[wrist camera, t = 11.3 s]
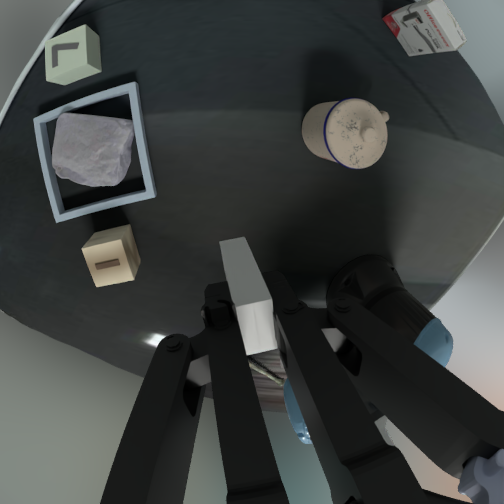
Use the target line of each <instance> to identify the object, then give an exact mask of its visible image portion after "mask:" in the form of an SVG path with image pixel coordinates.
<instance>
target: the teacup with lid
mask: <svg viewBox="0 0 504 504" xmlns="http://www.w3.org/2000/svg"><path fill="white" fill-rule="evenodd" d="M388 120H389V115H388V113H387V112H385V111H379V110H378V109H377V108H376V107H375V106H374V105H372V104H371V103H369V102H368V101H366V100H363V99H360V98H346V99H343V100H341V101H334V102H326V103H320V104H317V105H315V106H314V107H312V108H311V109H310V110H309V111H308V112H307V114H306V115H305V117H304V119H303V123H302V136H303V140H304V142H305V144H306V146H307V147H308V149H309V150H310V151H311V152H312V153H314V154H315V155H317V156H318V157H321V158H324V159H327V160H331V161H334V162H337V163H339V164H341V165H342V166H344V167H347V168H350V169H363V168H366V167H369V166H371V165H372V164H374V163H375V162H376V161H377V160H378V159H379V158H380V157H381V156H382V154H383V152H384V150H385V147H386V144H387V127H386V123H385V122H387V121H388Z"/></svg>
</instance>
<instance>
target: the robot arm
mask: <svg viewBox="0 0 504 504" xmlns="http://www.w3.org/2000/svg"><path fill="white" fill-rule="evenodd" d="M220 248H221V253H222V258H223V263H224V269H225V274H226V279H227V281H225V282H220V283H214V284H209V285H208V286H207V287H206V289H205V291H204V292H205V304H204V305H203V306H202V309H201V313H202V316H203V320H204V323H205V329H204V330H203V331H202V332H201V333H199V334H198V335H196V336H194V337H191V338H188V337H187V336H185V335H183V334H172V335H169V336H167V337H165V338H164V339H162V340H161V341H160V343H159V344H158V346H157V349H156V351H155V354H154V356H153V358H152V361H151V363H150V366H149V368H148V371H147V373H146V376H145V378H144V381H143V383H142V386H141V388H140V391H139V394H138V396H137V398H136V401H135V404H134V406H133V409H132V412H131V414H130V417H129V420H128V422H127V425H126V428H125V430H124V433H123V436H122V439H121V442H120V444H119V447H118V450H117V453H116V456H115V459H114V462H113V465H112V468H111V471H110V474H109V477H108V480H107V483H106V486H105V489H104V492H103V496H102V499H101V502H100V504H183V500H184V495H185V489H186V484H187V479H188V473H189V467H190V463H191V458H192V453H193V448H194V442H195V437H196V432H197V428H198V423H199V418H200V412H201V407H202V403H203V398H204V393H205V388H206V383H209V382H211V383H212V391H213V399H214V407H215V414H216V421H217V427H218V435H219V442H220V448H221V454H222V460H223V466H224V472H225V478H226V484H227V490H228V493H227V497H226V501H227V504H289V500H288V497H287V494H286V491H285V488H284V486H283V483H282V481H281V477H280V474H279V471H278V467H277V464H276V460H275V457H274V453H273V450H272V446H271V443H270V440H269V436H268V433H267V429H266V425H265V422H264V418H263V414H262V411H261V407H260V403H259V400H258V396H257V392H256V388H255V385H254V381H253V377H252V373H251V369H250V366H249V362H248V358H247V355H250V354H255V353H260V352H264V351H268V350H273V349H277V344H278V346H279V350H280V361H281V368H283V367H284V369H285V371H286V374H287V377H288V378H287V379H286V381H285V384H284V400H285V405H286V409H287V412H288V415H289V418H290V421H291V424H292V426H293V428H294V430H295V432H296V433H297V435H298V437H299V439H300V440H301V441H302V442H303V443H305V444H308V443H309V444H311V443H313V445H314V447H315V450H316V453H317V455H318V458H319V461H320V463H321V466H322V468H323V471H324V473H325V476H326V479H327V481H328V483H329V487H330V490H331V497H332V501H333V504H504V411H501V410H498V409H497V408H496V407H495V406H494V405H492V404H491V403H490V402H489V401H487V400H486V399H485V398H483V397H482V396H481V395H480V394H478V393H477V392H476V391H475V390H473V389H472V388H471V387H469V386H468V385H467V384H465V383H464V382H462V380H460V379H459V378H458V377H456V376H455V375H454V374H453V373H451V372H450V371H449V370H447V369H446V368H445V366H446V365H447V363H448V361H449V359H450V356H451V353H452V349H453V338H452V336H451V334H450V332H449V331H448V330H447V329H446V328H445V327H444V325H443V324H442V323H441V321H440V320H439V319H438V318H436V317H435V316H434V315H433V314H432V313H431V312H430V311H429V310H428V309H427V308H425V307H424V306H423V305H422V304H421V303H420V302H419V301H418V300H417V299H416V298H415V297H413V296H412V295H411V294H410V293H409V292H408V291H407V290H406V289H405V288H404V285H403V283H402V281H401V279H400V277H399V275H398V273H397V271H396V269H395V268H394V266H393V265H392V264H391V263H389V262H388V261H387V260H386V259H384V258H383V257H381V256H378V255H366V256H362V257H359V258H357V259H355V260H353V261H351V262H350V263H348V264H347V265H346V266H344V267H343V268H342V269H341V270H340V271H339V272H338V274H337V275H336V276H335V278H334V279H333V281H332V283H331V285H330V287H329V289H328V293H327V299H326V303H327V308H319V309H317V308H309V307H308V306H307V305H306V304H305V303H304V302H303V301H300V300H298V298H297V297H296V295H295V293H294V291H293V290H292V288H291V286H290V285H289V283H288V281H287V279H286V278H285V276H284V274H282V273H281V272H279V271H277V270H275V271H270V272H266V273H260V270H259V268H258V266H257V264H256V261H255V259H254V257H253V254H252V252H251V250H250V248H249V245H248V243H247V241H246V239H245V237H241V238H236V239H230V240H225V241H220ZM387 419H389V420H390V421H391V422H392V423H393V424H394V425H395V426H396V427H397V428H398V429H399V430H400V431H401V432H402V433H403V434H404V435H405V436H406V437H408V438H409V439H410V440H411V441H412V442H413V443H414V444H415V445H416V446H417V447H418V448H419V449H420V450H421V451H422V452H423V453H424V454H425V455H426V456H427V457H428V458H429V459H431V460H432V461H433V462H434V463H435V464H436V465H437V466H438V467H440V468H441V469H442V470H443V471H445V472H447V473H448V474H450V475H451V476H453V477H455V478H458V479H460V483H459V486H458V492H459V493H460V494H463V495H467V496H468V497H469V498H470V499H471V500H472V502H473V503H469V502H465V501H461V500H457V499H454V498H450V497H446V496H443V495H440V494H437V493H434V492H431V491H428V490H424V489H422V488H421V486H420V485H419V483H418V481H417V479H416V477H415V476H414V474H413V472H412V470H411V468H410V466H409V465H408V463H407V461H406V460H405V457H404V456H403V454H402V453H401V451H400V450H399V449H398V448H397V447H395V445H394V443H393V441H392V439H391V437H390V435H389V434H388V432H387V430H386V428H385V425H386V422H387Z"/></svg>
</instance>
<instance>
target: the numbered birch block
mask: <svg viewBox="0 0 504 504" xmlns="http://www.w3.org/2000/svg"><path fill="white" fill-rule="evenodd" d="M82 251H83V254H84V257H85V259H86V262H87V265H88V267H89V270H90V273H91V275H92V278H93V280H94V283H95V285H96V287H100V286H105V285H111V284H116V283H121V282H126V281H131V280H134V279H135V276H136V273H137V270H138V267H139V264H140V261H141V260H140V257H139V253H138V250H137V247H136V243H135V240H134V237H133V233H132V230H131V226H130V224H128V225H124V226H120V227H116V228H112V229H107V230H103V231H99V232H95V233H94V234H93V235H92V236H91V238H90V239H89V240H88V241H87V243H86V244H85V245H84V246H83V248H82Z"/></svg>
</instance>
